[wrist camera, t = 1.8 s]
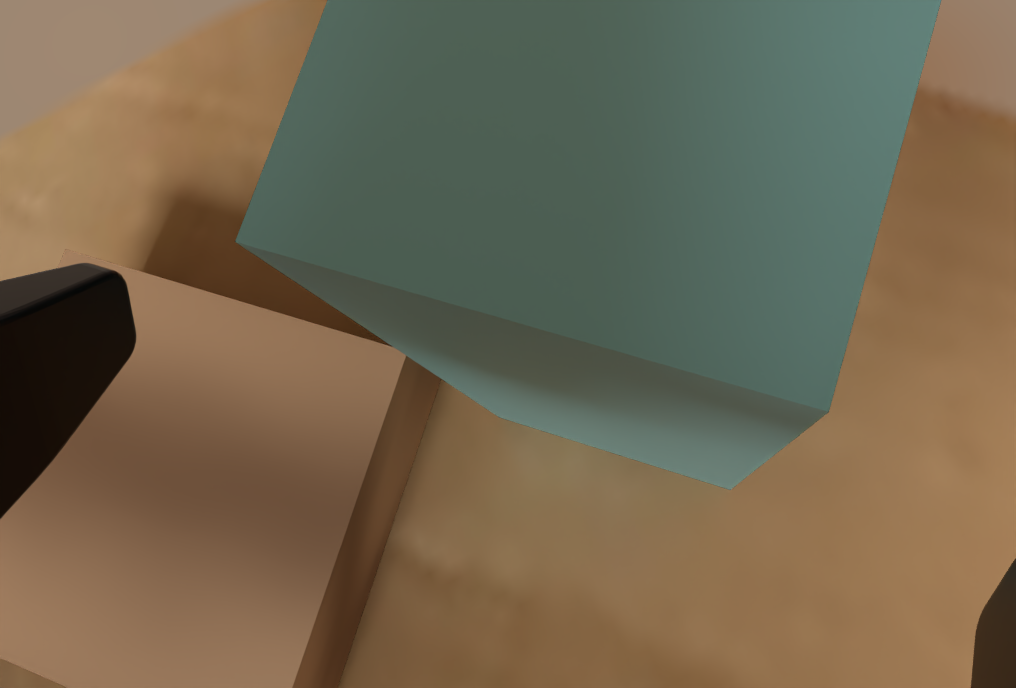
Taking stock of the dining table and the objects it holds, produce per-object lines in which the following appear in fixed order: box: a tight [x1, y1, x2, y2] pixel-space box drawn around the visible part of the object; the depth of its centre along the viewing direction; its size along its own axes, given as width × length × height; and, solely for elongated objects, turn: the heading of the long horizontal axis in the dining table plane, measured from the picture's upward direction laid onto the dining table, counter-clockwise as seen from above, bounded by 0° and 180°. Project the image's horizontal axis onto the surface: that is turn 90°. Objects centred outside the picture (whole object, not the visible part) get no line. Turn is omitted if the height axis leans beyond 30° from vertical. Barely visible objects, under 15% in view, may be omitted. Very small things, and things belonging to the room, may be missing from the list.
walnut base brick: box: [0, 249, 441, 688], centre depth 19 cm, size 8×8×3 cm
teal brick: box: [235, 0, 941, 490], centre depth 13 cm, size 5×5×12 cm
